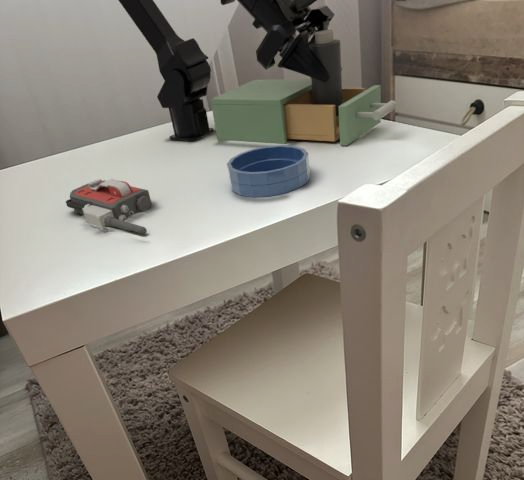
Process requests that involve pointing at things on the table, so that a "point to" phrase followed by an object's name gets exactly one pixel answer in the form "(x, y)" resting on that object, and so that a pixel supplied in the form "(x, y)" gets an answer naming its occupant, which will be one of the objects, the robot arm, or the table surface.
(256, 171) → the bowl
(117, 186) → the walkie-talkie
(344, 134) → the drawer
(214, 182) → the table surface
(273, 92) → the cabinet
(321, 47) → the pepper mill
